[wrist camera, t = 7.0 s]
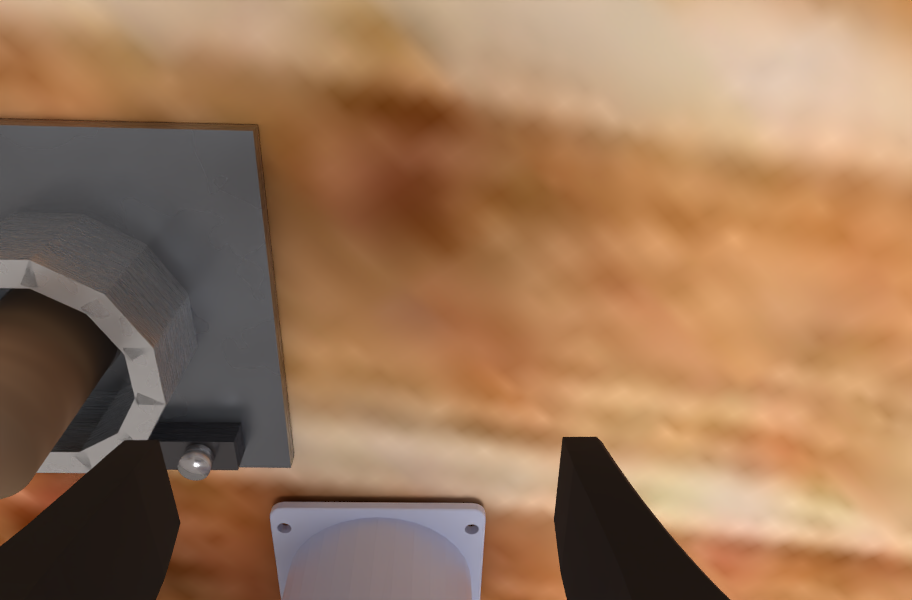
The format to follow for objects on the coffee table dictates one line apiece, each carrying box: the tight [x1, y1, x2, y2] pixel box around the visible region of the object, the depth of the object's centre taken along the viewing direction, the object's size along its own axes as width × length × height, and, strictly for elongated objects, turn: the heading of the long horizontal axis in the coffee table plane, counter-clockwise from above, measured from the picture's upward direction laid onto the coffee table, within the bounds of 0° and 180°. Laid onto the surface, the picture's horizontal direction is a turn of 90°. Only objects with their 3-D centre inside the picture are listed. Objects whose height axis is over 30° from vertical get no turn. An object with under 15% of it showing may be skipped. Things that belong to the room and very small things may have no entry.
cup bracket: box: [0, 119, 294, 480], centre depth 21 cm, size 12×12×4 cm
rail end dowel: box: [0, 288, 121, 499], centre depth 19 cm, size 4×4×6 cm
